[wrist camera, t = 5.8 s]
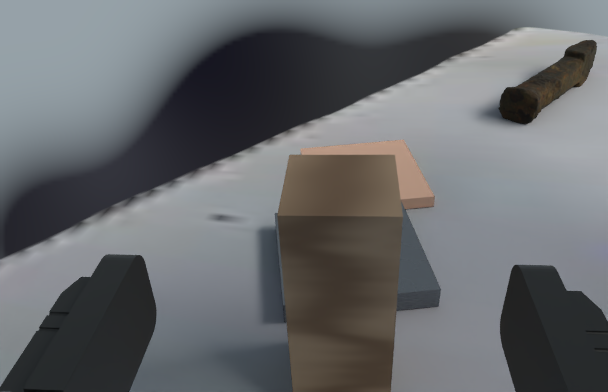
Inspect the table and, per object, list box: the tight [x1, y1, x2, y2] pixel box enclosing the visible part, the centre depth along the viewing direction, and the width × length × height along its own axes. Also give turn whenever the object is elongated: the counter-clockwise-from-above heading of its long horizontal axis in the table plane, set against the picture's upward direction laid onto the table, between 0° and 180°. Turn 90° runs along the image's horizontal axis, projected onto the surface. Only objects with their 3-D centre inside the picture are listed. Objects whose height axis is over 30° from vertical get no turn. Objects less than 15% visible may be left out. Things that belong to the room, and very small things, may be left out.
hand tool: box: [499, 40, 597, 124], centre depth 60 cm, size 19×4×5 cm, turn 132°
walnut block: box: [277, 155, 403, 392], centre depth 27 cm, size 5×5×13 cm
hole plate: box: [275, 202, 441, 322], centre depth 38 cm, size 10×10×2 cm
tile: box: [301, 140, 435, 209], centre depth 48 cm, size 10×10×1 cm
